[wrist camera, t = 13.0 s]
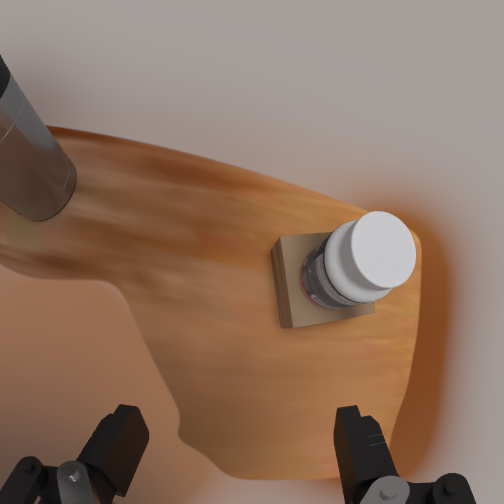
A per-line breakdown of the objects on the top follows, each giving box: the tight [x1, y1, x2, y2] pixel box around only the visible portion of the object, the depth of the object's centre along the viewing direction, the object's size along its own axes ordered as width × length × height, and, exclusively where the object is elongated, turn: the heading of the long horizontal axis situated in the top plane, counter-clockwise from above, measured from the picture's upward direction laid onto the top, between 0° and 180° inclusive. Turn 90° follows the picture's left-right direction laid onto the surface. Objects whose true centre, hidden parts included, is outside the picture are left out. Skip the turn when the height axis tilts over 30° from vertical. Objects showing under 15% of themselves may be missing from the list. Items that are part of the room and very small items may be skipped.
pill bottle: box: [300, 211, 416, 309], centre depth 20 cm, size 6×6×10 cm
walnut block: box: [271, 232, 375, 328], centre depth 28 cm, size 8×8×5 cm
